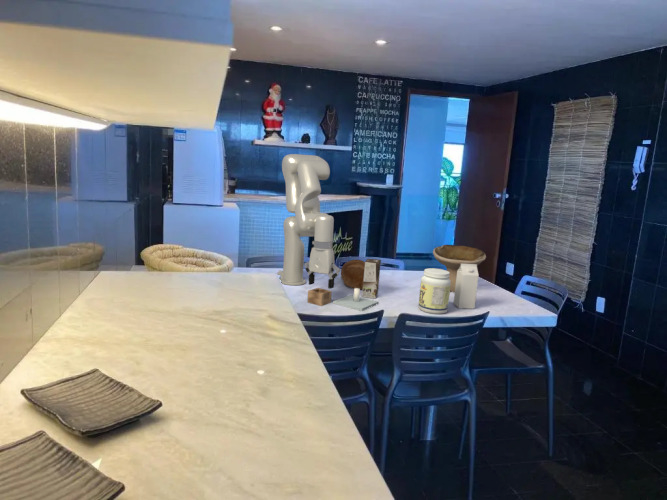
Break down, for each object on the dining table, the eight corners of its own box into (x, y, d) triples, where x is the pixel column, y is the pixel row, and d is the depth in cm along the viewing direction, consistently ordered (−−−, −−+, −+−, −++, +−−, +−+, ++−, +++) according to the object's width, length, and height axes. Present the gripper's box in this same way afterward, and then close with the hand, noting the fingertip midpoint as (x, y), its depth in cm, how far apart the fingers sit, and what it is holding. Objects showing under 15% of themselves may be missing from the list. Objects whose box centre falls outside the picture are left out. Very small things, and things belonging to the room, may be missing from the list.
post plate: (333, 303, 210) (334, 288, 209) (350, 296, 222) (351, 282, 220) (361, 311, 203) (363, 295, 201) (378, 303, 214) (379, 289, 213)
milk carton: (453, 303, 223) (458, 261, 219) (468, 304, 224) (473, 262, 220) (458, 308, 216) (463, 265, 212) (474, 309, 217) (479, 266, 213)
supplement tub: (415, 305, 216) (419, 266, 213) (443, 306, 217) (447, 268, 214) (421, 314, 204) (425, 273, 201) (450, 315, 205) (455, 275, 202)
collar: (307, 302, 209) (308, 290, 208) (317, 299, 215) (317, 287, 214) (321, 306, 205) (322, 294, 204) (330, 302, 211) (331, 291, 210)
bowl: (419, 286, 250) (423, 246, 246) (445, 279, 268) (449, 242, 264) (465, 298, 233) (471, 256, 229) (490, 290, 251) (495, 251, 247)
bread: (343, 290, 232) (345, 266, 230) (338, 275, 261) (339, 253, 259) (377, 292, 234) (379, 268, 232) (367, 276, 262) (369, 255, 260)
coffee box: (376, 298, 221) (379, 263, 218) (361, 297, 223) (364, 261, 220) (378, 293, 230) (381, 259, 227) (364, 292, 231) (367, 257, 228)
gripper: (300, 243, 207) (298, 284, 209) (336, 248, 198) (333, 291, 200) (311, 241, 213) (309, 281, 216) (345, 247, 204) (343, 288, 207)
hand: (321, 286), depth 208 cm, fingers open, 9 cm apart
